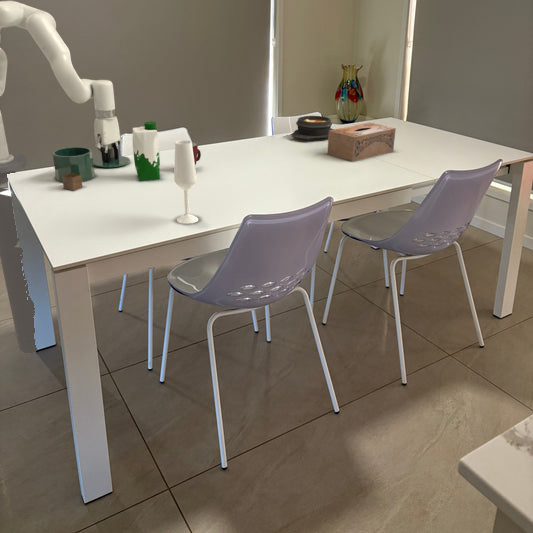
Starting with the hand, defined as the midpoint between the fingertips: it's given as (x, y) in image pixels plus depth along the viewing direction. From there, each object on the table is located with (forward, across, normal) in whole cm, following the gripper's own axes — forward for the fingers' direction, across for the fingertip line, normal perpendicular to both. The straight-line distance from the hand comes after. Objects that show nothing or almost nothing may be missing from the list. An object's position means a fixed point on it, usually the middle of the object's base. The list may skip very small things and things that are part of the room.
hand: (110, 159), depth 233 cm
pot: (+2, +20, 0) cm, 20 cm away
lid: (+1, 0, 0) cm, 1 cm away
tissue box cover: (+2, -63, +83) cm, 104 cm away
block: (+2, +30, +8) cm, 31 cm away
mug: (+2, -8, +32) cm, 33 cm away
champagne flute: (+2, +37, +60) cm, 71 cm away
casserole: (+2, -79, +55) cm, 96 cm away
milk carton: (+2, +8, +24) cm, 25 cm away
